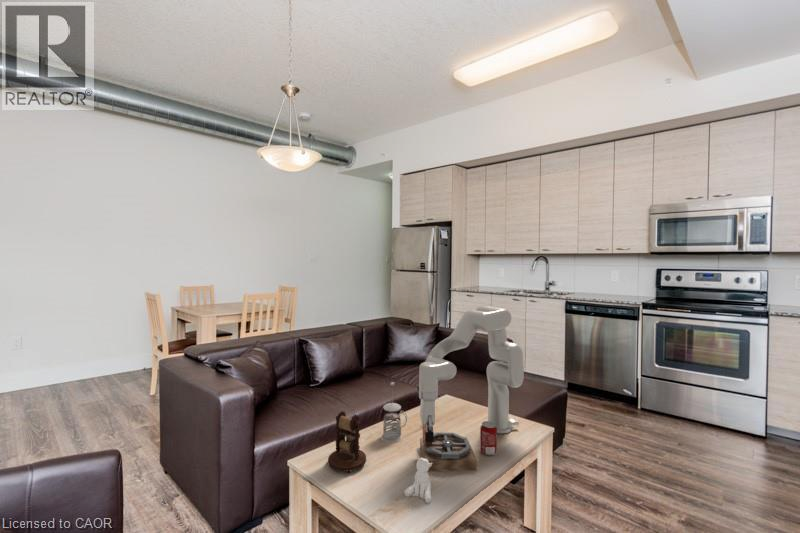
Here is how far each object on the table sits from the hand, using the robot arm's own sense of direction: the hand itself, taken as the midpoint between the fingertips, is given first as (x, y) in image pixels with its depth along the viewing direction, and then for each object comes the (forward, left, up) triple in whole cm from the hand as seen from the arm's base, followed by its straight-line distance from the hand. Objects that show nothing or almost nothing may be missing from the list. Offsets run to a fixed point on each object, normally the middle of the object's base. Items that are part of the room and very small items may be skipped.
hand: (427, 435), depth 153 cm
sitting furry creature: (+5, +22, -10) cm, 25 cm away
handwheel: (-8, 0, -5) cm, 10 cm away
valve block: (-8, 0, -9) cm, 12 cm away
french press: (+13, -18, -9) cm, 24 cm away
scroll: (+32, +3, -10) cm, 34 cm away
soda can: (-26, -4, -9) cm, 28 cm away
